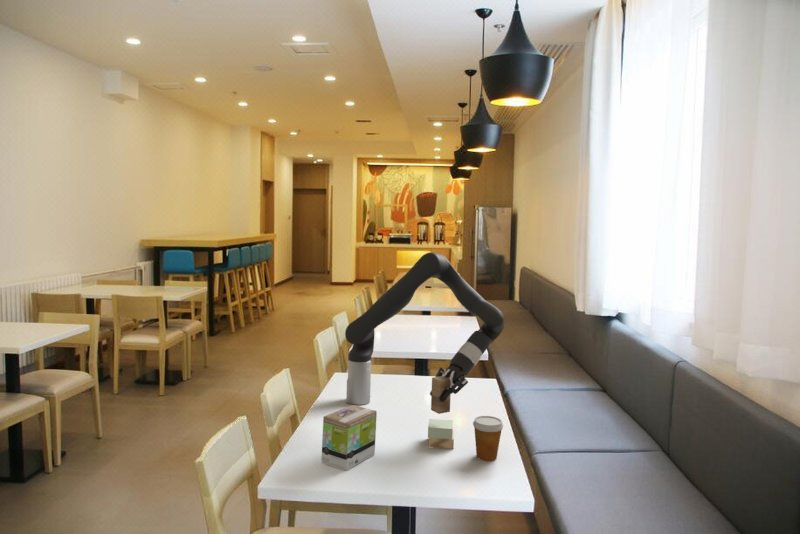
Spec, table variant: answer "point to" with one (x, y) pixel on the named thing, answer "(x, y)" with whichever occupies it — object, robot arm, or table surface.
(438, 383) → the walnut pillar
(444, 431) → the sage slab
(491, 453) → the disposable coffee cup
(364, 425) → the tea box
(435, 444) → the oak slab
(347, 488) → the table surface
